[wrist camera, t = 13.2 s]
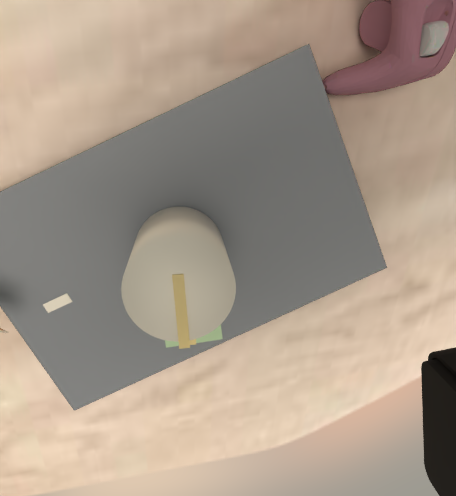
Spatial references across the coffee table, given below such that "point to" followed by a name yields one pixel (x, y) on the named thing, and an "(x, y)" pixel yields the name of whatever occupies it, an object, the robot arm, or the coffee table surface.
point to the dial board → (193, 196)
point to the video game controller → (399, 45)
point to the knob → (178, 277)
